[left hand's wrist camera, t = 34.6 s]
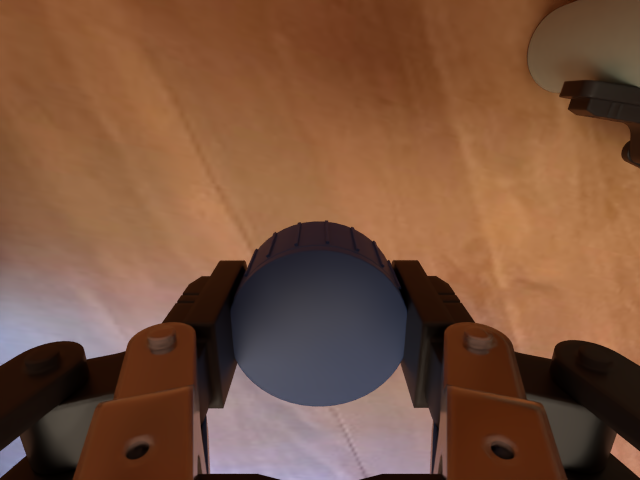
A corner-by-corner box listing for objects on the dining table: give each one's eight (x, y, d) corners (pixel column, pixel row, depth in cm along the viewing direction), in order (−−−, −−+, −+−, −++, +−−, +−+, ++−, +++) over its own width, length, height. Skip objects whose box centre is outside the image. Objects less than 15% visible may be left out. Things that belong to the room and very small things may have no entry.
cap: (274, 371, 13) (265, 426, 11) (218, 247, 11) (194, 281, 9) (411, 333, 12) (430, 383, 10) (371, 197, 11) (383, 222, 9)
